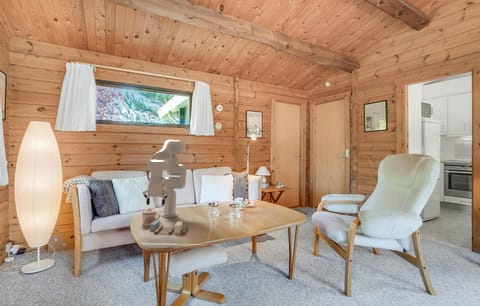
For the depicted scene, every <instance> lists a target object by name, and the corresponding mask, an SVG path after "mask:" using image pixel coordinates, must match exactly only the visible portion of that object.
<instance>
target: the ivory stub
mask: <svg viewBox="0 0 480 306" xmlns="http://www.w3.org/2000/svg"><path fill="white" fill-rule="evenodd" d="M173 226H174V233H178V234H180V232H181V231H182V229H183V228H184V227H183V226H184V222H183V220H182V221H179V220H178V221H177V222H176V223H175V224H174V225H173Z"/></svg>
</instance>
